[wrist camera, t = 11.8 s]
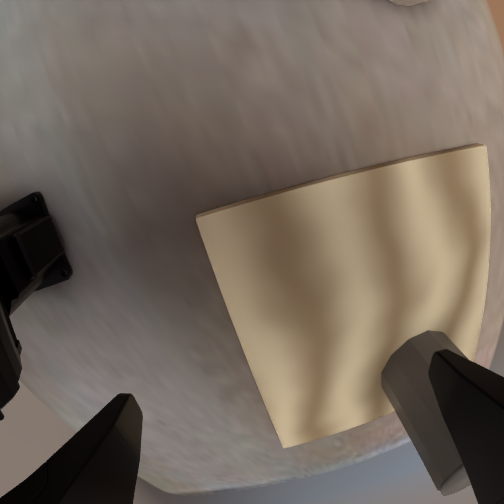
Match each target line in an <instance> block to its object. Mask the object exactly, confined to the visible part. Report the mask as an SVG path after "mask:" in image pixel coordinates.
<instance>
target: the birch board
mask: <svg viewBox="0 0 504 504" xmlns="http://www.w3.org/2000/svg"><path fill="white" fill-rule="evenodd" d="M195 219H196V222H197V225H198V228H199V231H200V234H201V237H202V239H203V242H204V245H205V248H206V251H207V254H208V257H209V259H210V262H211V265H212V268H213V271H214V273H215V276H216V279H217V282H218V284H219V287H220V290H221V293H222V295H223V298H224V301H225V303H226V306H227V309H228V312H229V314H230V317H231V319H232V322H233V325H234V327H235V330H236V333H237V335H238V338H239V340H240V343H241V346H242V348H243V351H244V353H245V356H246V358H247V361H248V363H249V366H250V369H251V371H252V374H253V376H254V379H255V381H256V384H257V386H258V388H259V391H260V393H261V396H262V398H263V401H264V403H265V406H266V408H267V410H268V413H269V415H270V418H271V420H272V422H273V425H274V427H275V429H276V432H277V434H278V436H279V439H280V441H281V443H282V446H283V448H287V447H291V446H295V445H299V444H302V443H306V442H309V441H313V440H316V439H319V438H323V437H326V436H329V435H332V434H335V433H338V432H341V431H344V430H347V429H350V428H353V427H355V426H358V425H361V424H364V423H366V422H369V421H371V420H374V419H377V418H379V417H381V416H384V415H386V414H389V413H391V412H393V411H395V410H394V408H393V406H392V405H391V403H390V401H389V399H388V398H387V396H386V394H385V392H384V391H383V389H382V387H381V372H382V370H383V369H384V367H385V365H386V363H387V362H388V360H389V358H390V356H391V355H392V354H393V353H394V352H395V351H396V350H397V349H398V348H399V347H400V346H402V345H403V344H404V343H405V342H406V341H407V340H408V339H410V338H412V337H414V336H416V335H419V334H421V333H423V332H425V331H427V330H430V331H442V332H443V333H444V334H445V335H446V336H447V337H448V338H449V339H450V340H451V341H452V342H453V343H454V344H455V345H456V346H457V347H458V348H459V350H460V351H461V352H462V353H463V354H464V355H465V356H466V357H467V358H468V359H469V360H471V361H473V362H474V359H475V354H476V350H477V345H478V340H479V335H480V330H481V324H482V318H483V312H484V305H485V297H486V289H487V280H488V269H489V254H490V228H491V207H490V181H489V167H488V156H487V147H486V145H483V144H474V145H469V146H464V147H458V148H453V149H448V150H443V151H438V152H433V153H429V154H424V155H419V156H415V157H410V158H405V159H401V160H396V161H392V162H388V163H383V164H379V165H375V166H370V167H366V168H362V169H358V170H354V171H350V172H346V173H342V174H338V175H334V176H330V177H326V178H322V179H318V180H315V181H311V182H307V183H303V184H300V185H296V186H292V187H288V188H285V189H281V190H278V191H274V192H270V193H267V194H263V195H260V196H256V197H253V198H250V199H246V200H243V201H239V202H236V203H233V204H229V205H226V206H223V207H219V208H216V209H213V210H210V211H206V212H203V213H200V214H197V215H196V218H195Z"/></svg>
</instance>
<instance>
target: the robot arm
mask: <svg viewBox="0 0 504 504" xmlns="http://www.w3.org/2000/svg"><path fill="white" fill-rule="evenodd" d="M34 197H36V199H37V202H35V201H34ZM63 270H64V271H66V273H67V275H66V274H64V272H63ZM71 275H72V270H71V267H70V265H69V263H68V261H67V259H66V256H65V254H64V252H63V248H62V245H61V243H60V240H59V238H58V236H57V233H56V231H55V228H54V226H53V223H52V220H51V218H50V217H49V215H48V212H47V209H46V207H45V204H44V201H43V198H42V196H41V194H40V193H39V192H34V193H31V194H29V195H28V196H26V197H24V198H22V199H20V200H19V201H17V202H15V203H13V204H12V205H10V206H8V207H7V208H5V209H3V210H2V211H0V420H3V419H4V415H3V413H2V412H1V409H2V408H3V407H4V406H5V405H6V404H7V403H8V402H9V401H11V399H13V397H14V396H15V394H16V393H17V391H18V390H19V388H20V385H19V383H18V381H19V378H20V374H21V370H22V365H21V359H20V354H21V350H22V347H21V345H20V342H19V340H17V338H16V335H15V332H14V330H13V327H12V324H11V321H10V318H9V316H10V315H11V314H12V313H13V312H14V311H15V310H16V309H17V308H18V307H19V306H20V305H21V304H22V303H23V302H24V301H25V300H26V299H27V298H28V297H29V296H30V294H31V293H32V292H34V291H37V290H40V289H42V288H45V287H48V286H51V285H54V284H57V283H60V282H62V281H65V280H68V279H69V278H70V277H71ZM428 377H429V380H430V383H431V386H432V388H433V391H434V394H435V397H436V400H437V403H438V406H439V409H440V412H441V414H442V417H443V419H444V421H445V424H446V426H447V428H448V430H449V432H450V435H451V437H452V439H453V442H454V444H455V446H456V448H457V451H458V453H459V455H460V458H461V460H462V463H463V465H464V468H465V470H466V473H467V475H468V478H469V480H470V483H471V485H472V488H473V491H474V493H475V496H476V498H477V502H478V504H504V377H502V376H500V375H498V374H496V373H494V372H492V371H490V370H488V369H486V368H484V367H482V366H480V365H478V364H476V363H474V362H473V361H471V360H469V359H467V358H465V357H463V356H461V355H459V354H457V353H455V352H453V351H451V350H449V349H446V348H443V349H440V350H437V351H435V352H434V353H433V355H432V358H431V362H430V366H429V369H428ZM142 421H143V415H142V411H141V409H140V407H139V405H138V403H137V402H136V400H135V398H134V396H133V395H132V394H130V393H120V394H118V395H117V396H116V397H114V398H113V399H112V400H111V401H110V402H109V403H108V404H107V405H106V406H105V407H104V408H103V409H102V410H101V411H100V412H99V413H97V414H96V415H95V416H94V417H93V418H92V419H91V420H90V421H89V422H88V423H87V424H86V425H85V426H84V427H82V428H81V429H80V430H79V431H78V432H77V433H76V434H75V435H74V436H73V437H72V438H71V439H70V440H69V441H68V442H66V443H65V444H64V445H63V446H62V447H61V448H60V449H59V450H58V451H57V452H56V453H54V454H53V455H52V456H51V457H50V458H49V459H48V460H47V461H46V462H45V463H44V464H42V465H41V466H40V467H39V468H38V469H37V470H36V471H35V472H34V473H33V474H31V475H30V476H29V477H28V478H27V479H25V480H24V481H23V482H21V483H20V484H19V485H18V486H16V487H15V488H13V489H12V490H11V491H9V492H8V493H6V494H5V495H4V496H2V497H1V498H0V504H133V499H134V492H135V486H136V480H137V474H138V468H139V462H140V451H141V434H142Z"/></svg>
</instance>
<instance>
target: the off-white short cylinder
mask: <svg viewBox="0 0 504 504" xmlns="http://www.w3.org/2000/svg"><path fill="white" fill-rule="evenodd" d="M389 1H391V2H393V3H395V4H397V5H403V6H413V5H416V4H419V3H422V2H425V1H428V0H389Z"/></svg>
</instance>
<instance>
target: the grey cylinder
mask: <svg viewBox="0 0 504 504" xmlns="http://www.w3.org/2000/svg"><path fill="white" fill-rule="evenodd" d="M443 348H446V349H449V350H451V351H453V352H455V353H457V354H459V355H461V356H463V357H465V358H467V357H466V356H465V355H464V354H463V353H462V352H461V351H460V350H459V348H458V347H457V346H456V345H455V344H454V343H453V342H452V341H451V340H450V339H449V338H448V337H447V336H446V335H445V334H444V333H443V332H442V331H430V330H427V331H425V332H423V333H421V334H419V335H416V336H414V337H412V338H410V339H408V340H407V341H406V342H405V343H404V344H403V345H402V346H400V347H399V348H398V349H397V350H396V351H395V352H394V353H393V354H392V355H391V356H390V358H389V360H388V362H387V363H386V365H385V367H384V369H383V370H382V372H381V387H382V389H383V391H384V392H385V394H386V396H387V398H388V399H389V401H390V403H391V405H392V406H393V408H394V410H395V412H396V413H397V415H398V417H399V419H400V421H401V422H402V424H403V426H404V428H405V430H406V431H407V433H408V435H409V437H410V439H411V441H412V442H413V444H414V446H415V448H416V450H417V452H418V454H419V455H420V457H421V459H422V461H423V463H424V465H425V467H426V469H427V471H428V472H429V474H430V476H431V478H432V480H433V482H434V484H435V486H436V488H437V490H439V491H441V494H442V495H443V496H446V495H450V494H453V493H455V492H458V491H460V490H462V489H464V488H466V487H467V486H469V485H471V483H470V480H469V478H468V475H467V473H466V470H465V468H464V465H463V463H462V460H461V458H460V455H459V453H458V451H457V448H456V446H455V444H454V442H453V439H452V437H451V435H450V432H449V430H448V428H447V426H446V424H445V421H444V419H443V417H442V414H441V412H440V409H439V406H438V403H437V400H436V397H435V394H434V391H433V388H432V386H431V383H430V380H429V377H428V369H429V366H430V362H431V358H432V355H433V353H434V352H435V351H437V350H440V349H443ZM467 359H468V358H467Z"/></svg>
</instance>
